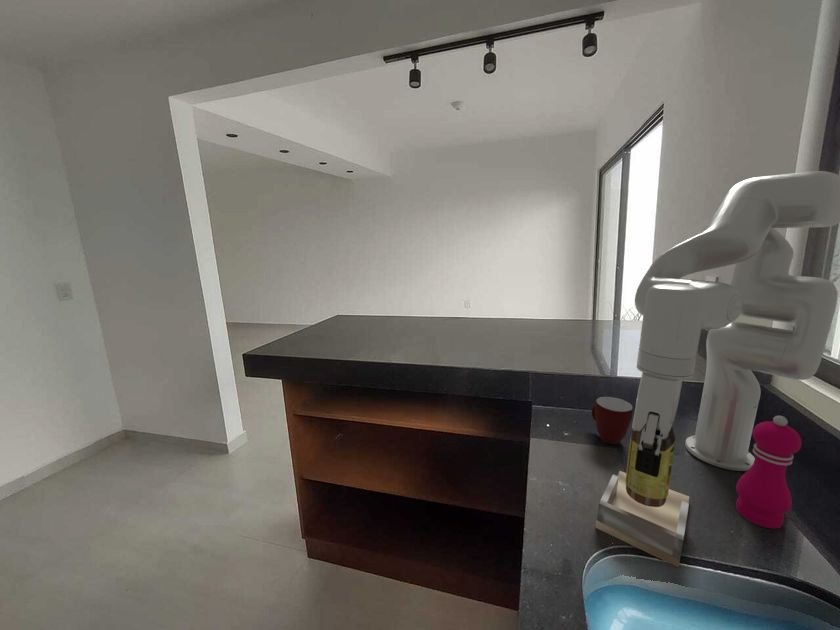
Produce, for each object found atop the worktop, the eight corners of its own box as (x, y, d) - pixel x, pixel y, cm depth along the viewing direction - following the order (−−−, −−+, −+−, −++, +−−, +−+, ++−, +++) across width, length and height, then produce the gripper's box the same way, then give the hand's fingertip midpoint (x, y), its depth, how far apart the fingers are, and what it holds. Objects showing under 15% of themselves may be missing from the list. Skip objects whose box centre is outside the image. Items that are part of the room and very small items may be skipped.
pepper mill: (792, 538, 60) (820, 432, 56) (736, 520, 64) (758, 420, 59) (778, 510, 66) (803, 412, 62) (728, 496, 70) (748, 402, 65)
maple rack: (619, 475, 76) (621, 456, 75) (688, 502, 68) (692, 480, 67) (595, 527, 63) (598, 504, 62) (678, 567, 55) (683, 542, 54)
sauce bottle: (673, 512, 58) (693, 400, 53) (631, 506, 59) (647, 396, 54) (655, 484, 64) (672, 382, 59) (618, 480, 65) (631, 379, 61)
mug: (577, 430, 93) (580, 395, 91) (600, 424, 96) (603, 390, 94) (611, 452, 84) (616, 414, 82) (635, 445, 87) (641, 408, 85)
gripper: (646, 345, 65) (634, 433, 69) (626, 372, 52) (612, 479, 56) (698, 353, 60) (682, 448, 64) (689, 386, 47) (670, 501, 51)
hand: (649, 461), depth 60 cm, fingers closed on sauce bottle, 6 cm apart
